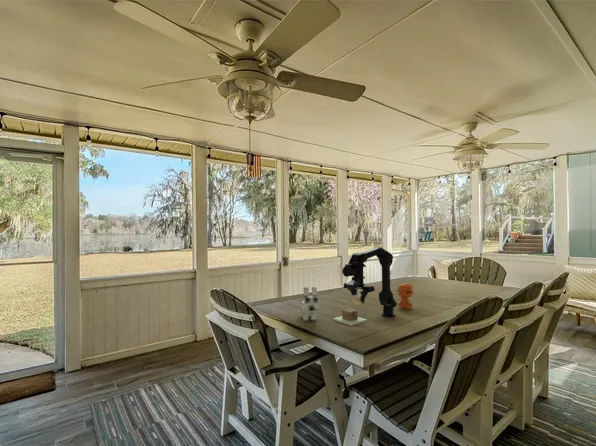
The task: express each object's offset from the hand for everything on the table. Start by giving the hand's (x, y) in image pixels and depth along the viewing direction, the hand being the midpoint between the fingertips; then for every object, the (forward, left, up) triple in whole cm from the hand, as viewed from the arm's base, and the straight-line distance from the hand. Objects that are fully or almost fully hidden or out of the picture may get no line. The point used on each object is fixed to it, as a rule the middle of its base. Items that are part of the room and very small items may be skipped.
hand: (358, 302), depth 181 cm
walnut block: (0, -7, -11) cm, 13 cm away
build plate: (0, -7, -12) cm, 14 cm away
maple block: (0, 0, -1) cm, 1 cm away
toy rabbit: (+17, -25, -13) cm, 33 cm away
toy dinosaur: (-51, -2, -13) cm, 53 cm away
